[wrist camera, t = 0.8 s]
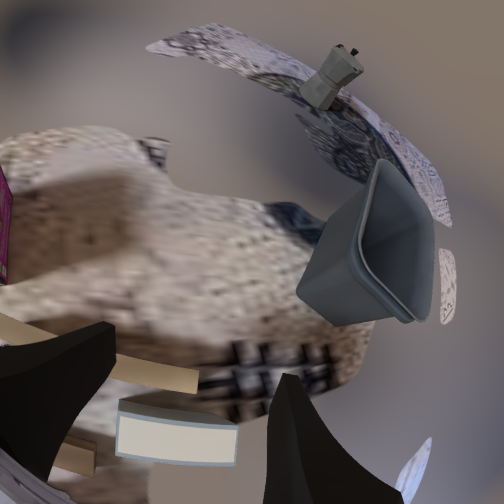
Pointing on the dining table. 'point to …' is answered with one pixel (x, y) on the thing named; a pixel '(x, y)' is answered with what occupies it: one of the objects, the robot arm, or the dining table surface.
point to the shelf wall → (124, 367)
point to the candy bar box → (4, 225)
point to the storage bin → (374, 255)
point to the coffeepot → (331, 77)
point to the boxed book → (174, 436)
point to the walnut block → (77, 456)
